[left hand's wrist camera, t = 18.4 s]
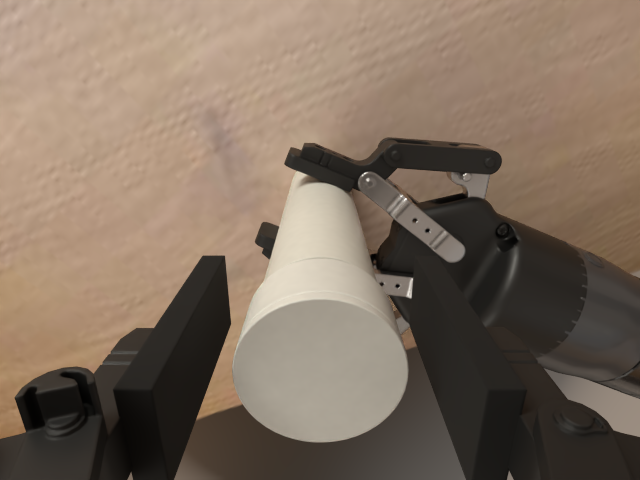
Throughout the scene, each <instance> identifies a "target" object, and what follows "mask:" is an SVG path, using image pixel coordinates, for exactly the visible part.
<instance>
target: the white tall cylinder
mask: <svg viewBox="0 0 640 480" xmlns="http://www.w3.org/2000/svg"><path fill="white" fill-rule="evenodd" d="M307 259H334V260H339V261H343V262H346V263H349V264H352V265H354V266H356V267H358V268H360V269H362V270H364V271H365V272H366V273H368V274H369V275H371V276H372V277H373V278H374V279H375V280H376V276H375V273H374V269H373V266H372V262H371V259H370V255H369V252H368V248H367V245H366V241H365V237H364V234H363V230H362V227H361V223H360V220H359V216H358V213H357V209H356V206H355V202H354V199H353V195H352V192H348V191H345V190H343V189H340V188H338V187H336V186H333V185H331V184H328V183H326V182H323V181H321V180H318V179H316V178H314V177H311V176H309V175H306V174H304V173H301V172H299V171H296V173H295V175H294V177H293V180H292V184H291V187H290V191H289V194H288V198H287V201H286V205H285V208H284V212H283V216H282V219H281V223H280V226H279V230H278V233H277V237H276V240H275V244H274V247H273V251H272V254H271V258H270V262H269V265H268V269H267V272H266V276H265V279H264V281H265V280H266V279H267V278H268V277H269V276H270V275H272V274H273V273H275V272H276V271H277V270H279V269H281V268H283V267H285V266H287V265H289V264H292V263H295V262H298V261H302V260H307ZM376 281H377V280H376Z"/></svg>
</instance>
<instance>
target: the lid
mask: <svg viewBox="0 0 640 480" xmlns="http://www.w3.org/2000/svg"><path fill="white" fill-rule="evenodd" d="M232 373H233V381H234V385H235V389H236V392H237V394H238V396H239V398H240V400H241V402H242V403H243V405H244V407H245V408H246V409H247V410H248V411H249V413H250V414H251V415H252V416H253V417H254V418H255V419H256V420H257V421H259V422H260V423H261V424H263V425H264V426H266V427H267V428H269V429H271V430H272V431H274V432H276V433H279V434H281V435H283V436H286V437H289V438H293V439H297V440H302V441H309V442H332V441H339V440H344V439H348V438H352V437H355V436H358V435H360V434H362V433H365V432H367V431H369V430H370V429H372V428H374V427H375V426H377V425H378V424H380V423H381V422H382V421H384V420H385V419H386V418H387V417H388V416H389V415H390V414H391V413H392V412H393V410H394V409H395V408H396V407H397V405H398V404H399V402H400V400H401V398H402V396H403V394H404V392H405V389H406V385H407V381H408V373H409V366H408V358H407V354H406V350H405V347H404V344H403V341H402V337H401V334H400V331H399V328H398V325H397V322H396V319H395V315H394V312H393V309H392V306H391V303H390V301H389V298H388V296H387V294H386V293H385V291H384V289H383V288H382V287H381V286H380V284H379V283H378V282H377V281H376V280H375V279H374V278H373V277H372V276H371V275H369V274H368V273H366V272H365V271H364V270H362V269H360V268H358V267H356V266H354V265H352V264H349V263H346V262H343V261H339V260H334V259H307V260H302V261H298V262H295V263H292V264H289V265H287V266H285V267H283V268H281V269H279V270H277V271H276V272H275V273H273V274H272V275H270V276H269V277H268V278H267V279H266V280H265V281H264V282H263V283H262V284H261V285H260V287H259V288H258V289H257V291H256V293H255V294H254V296H253V298H252V301H251V303H250V306H249V309H248V312H247V315H246V318H245V322H244V325H243V328H242V331H241V334H240V337H239V341H238V344H237V347H236V350H235V354H234V358H233V367H232Z"/></svg>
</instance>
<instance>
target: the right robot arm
mask: <svg viewBox="0 0 640 480" xmlns="http://www.w3.org/2000/svg"><path fill="white" fill-rule="evenodd" d="M501 163H502V159H501V156H500V155H499V153H497V152H495V151H493V150H491V149H488V148H486V147H483V146H480V145H478V144H469V143H456V142H442V141H429V140H415V139H402V138H385V139H383V140H382V141H381V142H380V143H379V145H378V148H377V149H376V150H375V151H374V152H373V153H372V154H371V156H370V157H368V158H367V159H365V160H362V161H357V160H353V159H351V158H348V157H346V156H344V155H341V154H339V153H337V152H334V151H332V150H329V149H327V148H324V147H322V146H320V145H318V144H315V143H304V145H303V148H302V150H299V149H296V148H292V147H291V148H290V150H289V153H288V155H287V158H286V160H285V163H284V164H285V165H286V166H288V167H289V168H292V169H294V170H296V171H299V172H301V173H304V174H306V175H309V176H311V177H314V178H316V179H318V180H321V181H323V182H326V183H328V184H331V185H333V186H336V187H338V188H340V189H343V190H345V191H348V192H351V190H352V188H353V189H356V190H358V191H361V192H362V193H363V194H365V195H366V196H367V197H369V198H370V199H371V200H372V201H374V202H375V203H376V204H378V205H379V206H380V207H381V208H383V209H384V210H385V211H386V212H387V213H388V214H389V215H390V216H391V217H392V218H393V219H394V220H393V222H392V225H391V230H390V235H389V237H388V238H387V239H386V240H385V241H384V242H383V243H382V244H381V246H380V247H379V249H378V251H375V250H368V252H369V255H370V259H371V262H372V266H373V269H374V273H375V276H376V280H377V282H378V283H379V284H380V286H381V287H382V288H383V289H384V291H385V293H386V294H387V295H389V297H390V298H391V300H392V301H393V303H394V305H395V306H396V308H397V309H398V310H396V311H393V312H394V315H395V319H396V322H397V325H398V328H399V331H400V334H402V333H403V332H405V331H406V330H407V329H408V328H409V327H410V325H409V318H410V307H411V296H412V285H413V274H414V263H415V256H438V258H439V259H440V261H441V262H442V264H443V265H444V267H445V268H446V270H447V271H448V272H449V274H450V275H451V277H452V278H453V280H454V281H455V283H456V284H457V286H458V287H459V289H460V290H461V292H462V293H463V295H464V296H465V298H466V299H467V301H468V302H469V304H470V305H471V307H472V308H473V310H474V311H475V313H476V314H477V316H478V317H479V319H480V320H481V322H482V323H483V325H484V326H485V327H505V328H506V329H508V330H509V331H511V332H512V333H513V334H515V335H516V336H518V337H519V338H520V339H521V340H522V341H523V343H524V344H525V345H526V347H527V348H528V349H529V352H530V353H532V354H533V356H534V357H535V358H536V359H537V361H538V364H541V366H542V367H543V368H545V369H548V370H551V371H554V372H558V373H562V374H566V375H572V376H577V377H581V378H584V379H587V380H590V381H593V382H595V383H598V384H601V385H604V386H606V387H609V388H612V389H614V390H617V391H620V392H622V393H625V394H628V395H630V396H633V397H636V398H639V399H640V278H638V277H635V276H633V275H631V274H629V273H627V272H625V271H624V270H622V269H621V268H619V267H618V266H616V265H614V264H612V263H611V262H609V261H607V260H605V259H603V258H601V257H599V256H597V255H595V254H592V253H590V252H588V251H585V250H583V249H580V248H578V247H576V246H573V245H571V244H569V243H566V242H564V241H562V240H559V239H557V238H555V237H552V236H550V235H547V234H545V233H543V232H540V231H538V230H536V229H533V228H531V227H529V226H526V225H524V224H521V223H519V222H517V221H514V220H512V219H510V218H507V217H505V216H503V215H500V214H498V213H496V212H495V210H494V209H493V207H492V206H491V204H490V203H489V202H488V201H486V200H485V195H486V191H487V186H488V182H489V177H490V174H493V173H495V172H496V171H497V170H498V169H499V168H500V166H501ZM397 168H403V169H417V170H430V171H444V172H446V174H447V176H448V178H449V179H450V180H451V181H453V182H454V183H456V184H458V185H461V186H462V188H463V193H460V194H456V195H451V196H447V197H442V198H438V199H434V200H429V201H425V202H420V203H419V202H418V201H416V200H415V199H414V198H413V197H411V196H410V195H409V194H408V193H406V192H405V191H404V190H403V189H402V188H400V187H399V186H398V185H396V184H395V183H393V182H392V181H391V180H389V179H388V177H389V176H390V175H391V174H392V173H393V172H394V171H395V170H396V169H397ZM278 230H279V226H276V225H273V224H271V223H267V222H263V223H262V224H261V227H260V229H259V232H258V234H257V237H256V240H255V243H256V244H257V245H258V246H260V247H262V248H264V249H263V251H262V254H264V255H265V256H266V257H267V258H268V259H270V258H271V254H272V251H273V247H274V244H275V240H276V237H277V233H278Z"/></svg>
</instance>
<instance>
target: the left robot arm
mask: <svg viewBox="0 0 640 480" xmlns="http://www.w3.org/2000/svg"><path fill="white" fill-rule="evenodd" d="M230 325H231V318H230V307H229V296H228V285H227V274H226V263H225V256H202V258H201V259H200V261H199V262H198V264H197V265H196V267H195V268H194V270H193V271H192V272H191V274H190V275H189V277H188V278H187V280H186V281H185V283H184V284H183V286H182V287H181V289H180V290H179V292H178V293H177V295H176V296H175V298H174V299H173V301H172V302H171V304H170V305H169V307H168V308H167V310H166V311H165V313H164V314H163V316H162V317H161V319H160V320H159V322H158V323H157V325H156V326H155V327H154V328H136V329H135V330H133V331H132V332H130V333H129V334H127V335H126V336H124V337H123V338H121V339H120V340H119V342H118V343H117V344H116V346H115V347H114V348H113V350H112V351H111V354H109V355H108V356H107V357H106V359H105V360H104V361H103V364H102V365H100V366H99V368H98V369H97V370H96V372H95V373H94V374H93V373H92V372H91V371H90V370H88V369H86V368H81V367H67V368H61V369H57V370H54V371H50V372H48V373H45V374H43V375H41V376H39V377H37V378H35V379H33V380H32V381H31V382H29V383H28V384H27V385H25V386H24V387H23V388H22V389H21V390H20V391H19V393H18V394H17V395H16V396H15V400H16V403H17V406H18V409H19V412H20V415H21V418H22V421H23V424H24V427H25V430H26V433H22V434H19V435H15V436H11V437H7V438H2V439H0V480H127V479H128V477H129V475H130V473H131V472H132V476H133V480H174V478H175V475H176V472H177V470H178V467H179V464H180V462H181V459H182V456H183V453H184V451H185V448H186V445H187V443H188V440H189V437H190V434H191V432H192V429H193V426H194V423H195V421H196V418H197V415H198V413H199V410H200V407H201V404H202V402H203V399H204V396H205V393H206V391H207V388H208V385H209V383H210V380H211V377H212V374H213V372H214V369H215V366H216V363H217V361H218V358H219V355H220V353H221V350H222V347H223V344H224V342H225V339H226V336H227V334H228V331H229V328H230ZM409 325H410V328H411V331H412V334H413V336H414V339H415V342H416V344H417V347H418V350H419V353H420V355H421V358H422V361H423V363H424V366H425V369H426V372H427V374H428V377H429V380H430V383H431V385H432V388H433V391H434V393H435V396H436V399H437V402H438V404H439V407H440V410H441V412H442V415H443V418H444V421H445V423H446V426H447V429H448V432H449V434H450V437H451V440H452V442H453V445H454V448H455V451H456V453H457V456H458V459H459V462H460V464H461V467H462V470H463V472H464V475H465V478H466V480H507V476H508V472H509V471H510V473H511V475H512V477H513V479H514V480H640V437H637V436H632V435H628V434H624V433H620V432H617V431H613V429H612V428H611V426H610V425H609V423H608V422H607V421H606V420H605V419H604V418H603V417H602V416H601V415H599V414H598V413H597V412H596V411H594V410H592V409H590V408H588V407H587V406H585V405H583V404H580V403H577V402H574V401H571V400H568V399H567V398H566V397H565V395H564V394H563V393H562V392H561V390H560V389H559V388H558V386H557V385H556V384H555V382H554V381H553V380H552V379H551V377H550V376H549V375H548V373H547V372H546V371H545V370H544V368H543V367H542V366H541V364H538V361H537V359H536V358H535V357H534V356H533V354H532V353H530V352H529V349H528V348H527V347H526V345H525V344H524V343H523V341H522V340H521V339H520V338H519V337H518V336H516V335H515V334H513V333H512V332H511V331H509V330H508V329H506V328H505V327H485V326H484V325H483V323H482V322H481V320H480V319H479V317H478V316H477V314H476V313H475V311H474V310H473V308H472V307H471V305H470V304H469V302H468V301H467V299H466V298H465V296H464V295H463V293H462V292H461V290H460V289H459V287H458V286H457V284H456V283H455V281H454V280H453V278H452V277H451V275H450V274H449V272H448V271H447V270H446V268H445V267H444V265H443V264H442V262H441V261H440V259H439V258H438V256H415V263H414V274H413V285H412V296H411V307H410V318H409Z"/></svg>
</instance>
